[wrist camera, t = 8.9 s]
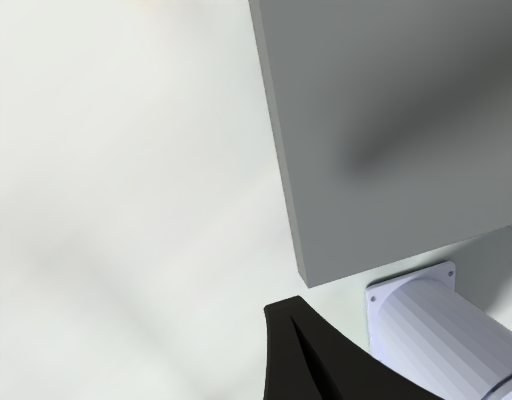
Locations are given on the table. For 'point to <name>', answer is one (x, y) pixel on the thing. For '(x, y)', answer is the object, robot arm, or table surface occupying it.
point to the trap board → (387, 125)
